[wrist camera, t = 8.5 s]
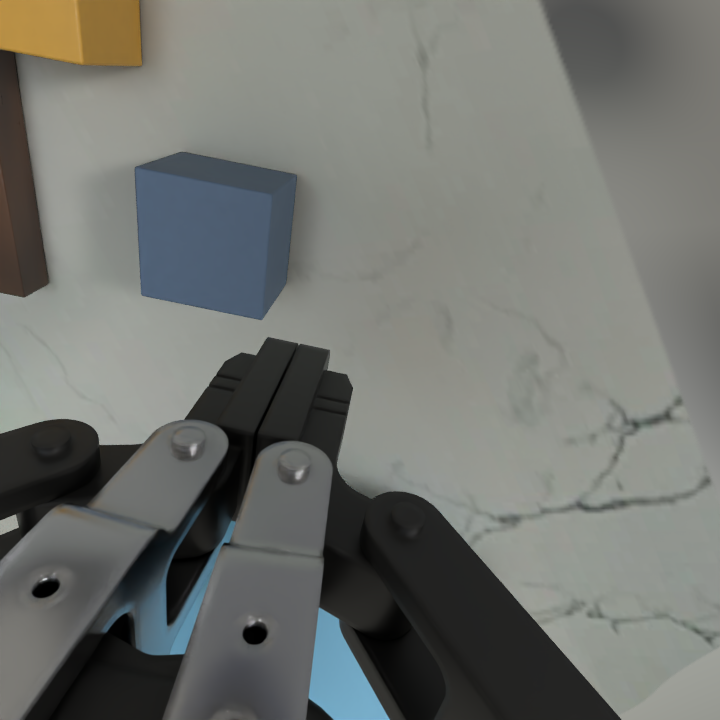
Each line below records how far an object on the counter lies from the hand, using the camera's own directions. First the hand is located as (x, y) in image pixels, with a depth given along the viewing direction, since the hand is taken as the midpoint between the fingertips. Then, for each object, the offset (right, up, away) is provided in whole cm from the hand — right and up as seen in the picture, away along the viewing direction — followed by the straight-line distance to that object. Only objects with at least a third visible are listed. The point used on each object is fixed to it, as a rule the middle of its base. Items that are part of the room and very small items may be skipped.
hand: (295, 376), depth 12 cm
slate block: (-4, +7, +10) cm, 13 cm away
